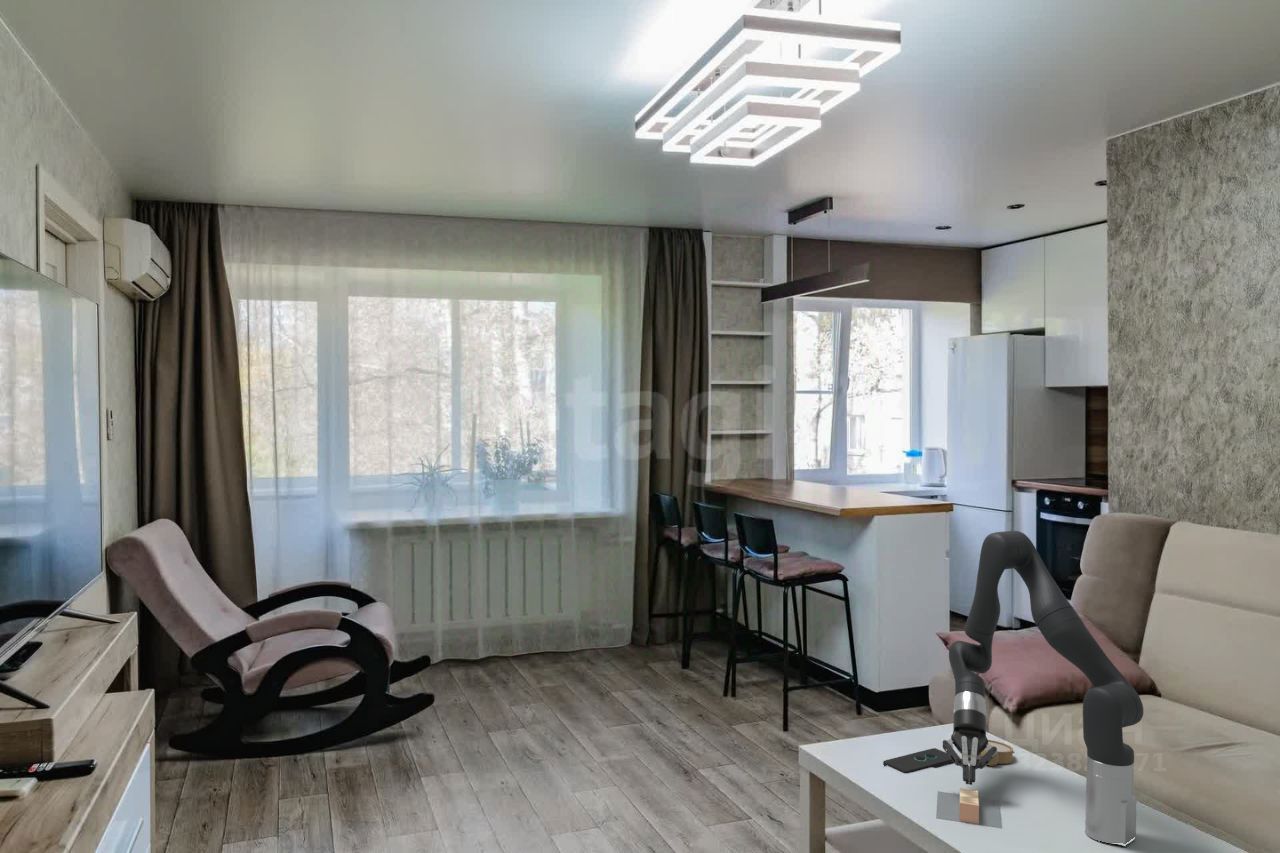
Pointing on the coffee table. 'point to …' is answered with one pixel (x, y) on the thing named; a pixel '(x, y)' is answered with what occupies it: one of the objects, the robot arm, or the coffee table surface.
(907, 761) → the smart home device
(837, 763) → the coffee table surface
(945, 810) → the rubber mat
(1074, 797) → the coffee table surface
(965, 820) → the birch block
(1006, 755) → the alarm clock
